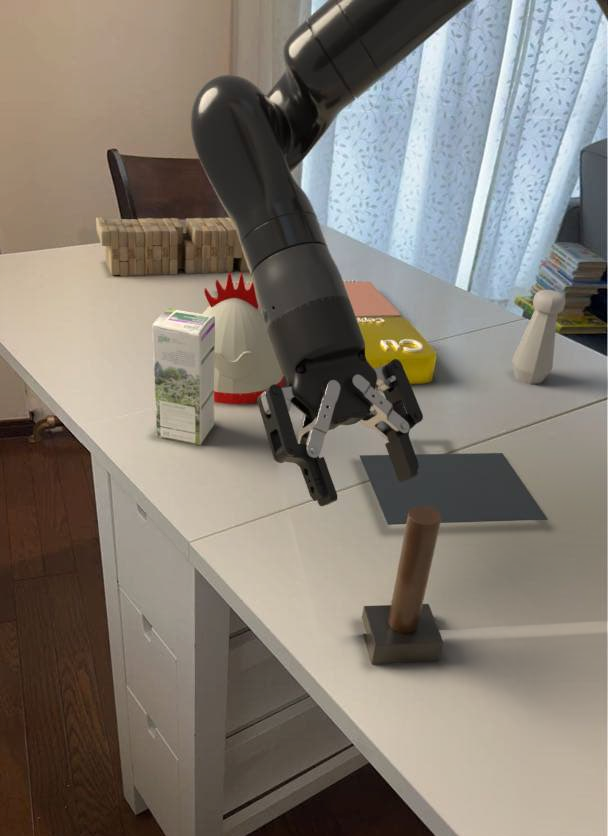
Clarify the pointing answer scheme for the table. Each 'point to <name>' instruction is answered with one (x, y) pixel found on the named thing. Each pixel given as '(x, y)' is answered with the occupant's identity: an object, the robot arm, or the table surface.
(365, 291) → the notebook
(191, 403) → the syrup box
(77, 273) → the table surface
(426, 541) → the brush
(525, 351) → the salt shaker
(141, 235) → the block tower
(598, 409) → the table surface
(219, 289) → the kitchen timer
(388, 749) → the table surface
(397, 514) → the board
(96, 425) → the table surface
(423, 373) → the element tile
